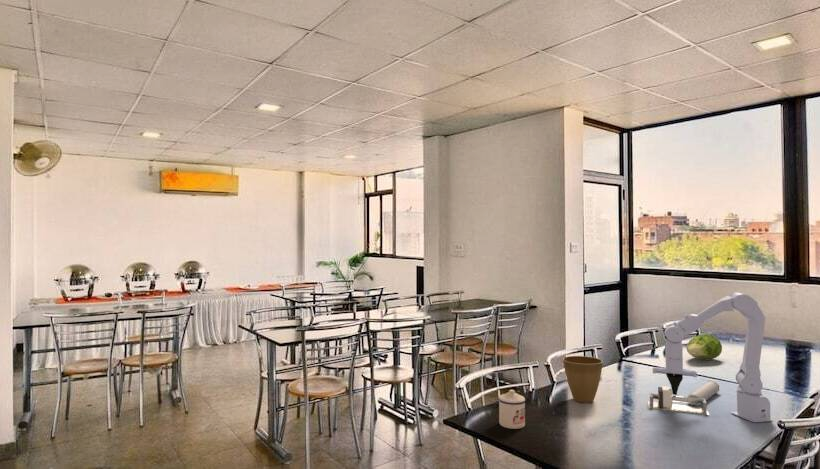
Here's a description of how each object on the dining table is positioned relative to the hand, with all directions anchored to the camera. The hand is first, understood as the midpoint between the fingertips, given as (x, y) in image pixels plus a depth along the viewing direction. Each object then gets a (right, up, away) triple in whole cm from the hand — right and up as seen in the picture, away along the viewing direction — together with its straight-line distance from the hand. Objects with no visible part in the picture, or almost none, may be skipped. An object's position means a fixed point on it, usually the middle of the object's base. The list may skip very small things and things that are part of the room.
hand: (674, 394), depth 180 cm
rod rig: (+1, -5, 0) cm, 5 cm away
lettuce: (+55, -7, +74) cm, 92 cm away
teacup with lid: (-64, -5, -15) cm, 66 cm away
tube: (+17, -6, +10) cm, 21 cm away
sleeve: (-2, -5, +1) cm, 6 cm away
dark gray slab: (-4, -5, +2) cm, 7 cm away
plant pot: (-31, -6, +10) cm, 33 cm away
